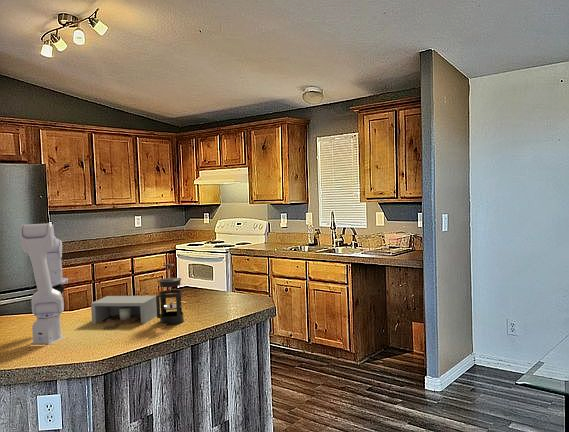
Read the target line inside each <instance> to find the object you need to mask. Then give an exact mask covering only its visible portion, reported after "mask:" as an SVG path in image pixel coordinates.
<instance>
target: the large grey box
mask: <svg viewBox="0 0 569 432" xmlns="http://www.w3.org/2000/svg"><path fill="white" fill-rule="evenodd" d="M122 307H131V315H141V318H140V324H141V325H142V324H143V325H145V324H147V323H149V322H150V321H151V320H154V318H157V306H156V295H106V296H104V297H102V298H99V299H98V300H97V299H96V300H94V301H93V302H91V303H90V309H91V324H92V325H96V324H99V323H100V322H102V321H105V319H106V320H107V318H108V319H109V318H110V317H113V316H115V315H120V314H119V308H122Z"/></svg>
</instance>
